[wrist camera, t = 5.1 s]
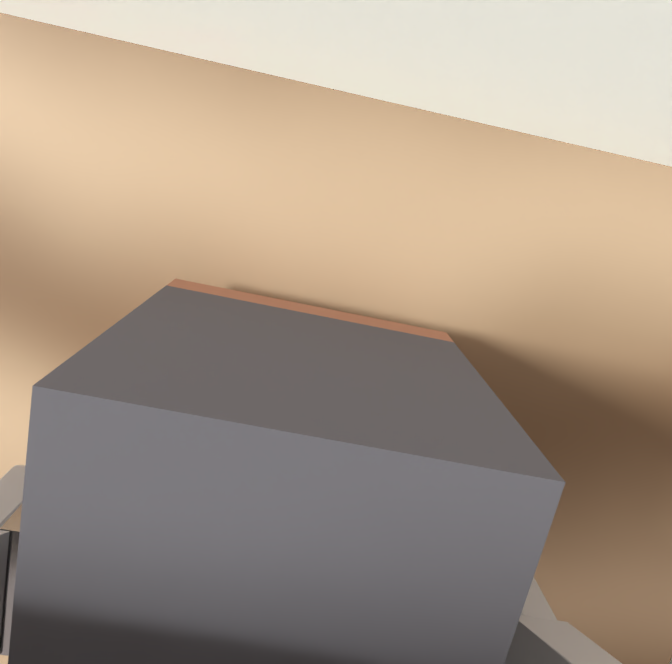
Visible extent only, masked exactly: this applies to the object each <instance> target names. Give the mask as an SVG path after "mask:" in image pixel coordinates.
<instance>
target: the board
mask: <svg viewBox="0 0 672 664" xmlns="http://www.w3.org/2000/svg"><path fill="white" fill-rule="evenodd" d="M175 278H176V279H181V280H186V281H191V282H196V283H201V284H206V285H211V286H216V287H221V288H226V289H231V290H236V291H241V292H246V293H251V294H256V295H261V296H266V297H271V298H276V299H281V300H286V301H291V302H296V303H301V304H306V305H311V306H316V307H321V308H326V309H331V310H336V311H341V312H346V313H351V314H356V315H361V316H366V317H371V318H376V319H381V320H386V321H391V322H397V323H402V324H407V325H412V326H417V327H422V328H427V329H432V330H437V331H442V332H446V333H447V334H448V335H449V337H450V338H451V339H452V340H453V342H454V343H455V344H456V345H457V347H458V348H459V349H460V350H461V352H462V353H463V354H464V355H465V357H466V358H467V359H468V360H469V362H470V363H471V364H472V365H473V367H474V368H475V369H476V370H477V372H478V373H479V374H480V375H481V377H482V378H483V379H484V380H485V382H486V383H487V384H488V386H489V387H490V388H491V389H492V391H493V392H494V393H495V394H496V396H497V397H498V398H499V399H500V401H501V402H502V403H503V404H504V406H505V407H506V408H507V409H508V411H509V412H510V413H511V414H512V416H513V417H514V418H515V419H516V421H517V422H518V423H519V424H520V426H521V427H522V428H523V429H524V431H525V432H526V433H527V434H528V436H529V437H530V438H531V440H532V441H533V442H534V443H535V445H536V446H537V447H538V448H539V450H540V451H541V452H542V453H543V455H544V456H545V457H546V458H547V460H548V461H549V462H550V463H551V465H552V466H553V467H554V468H555V470H556V471H557V472H558V473H559V475H560V476H561V477H562V478H563V480H564V481H565V482H566V483H565V486H564V488H563V491H562V494H561V497H560V500H559V503H558V506H557V509H556V512H555V515H554V518H553V521H552V524H551V527H550V530H549V533H548V536H547V539H546V542H545V545H544V548H543V551H542V554H541V556H540V559H539V562H538V565H537V568H536V571H535V574H534V578H535V580H536V582H537V584H538V585H539V587H540V589H541V591H542V593H543V595H544V596H545V598H546V600H547V602H548V604H549V606H550V608H551V609H552V611H553V613H554V615H555V617H556V619H557V620H559V621H565V622H568V623H569V624H571V625H572V626H573V627H575V628H576V629H577V630H579V631H580V632H581V633H583V634H584V635H585V636H587V637H588V638H589V639H591V640H592V641H593V642H594V643H596V644H597V645H598V646H600V647H601V648H602V649H604V650H605V651H606V652H608V653H609V654H610V655H612V656H613V657H614V658H615V659H617V660H618V661H619V662H621V663H622V664H669V662H670V660H671V657H672V167H670V166H665V165H661V164H657V163H652V162H648V161H643V160H639V159H635V158H630V157H626V156H622V155H617V154H613V153H609V152H604V151H600V150H596V149H591V148H587V147H582V146H578V145H574V144H569V143H565V142H561V141H556V140H552V139H548V138H543V137H539V136H535V135H530V134H526V133H521V132H517V131H513V130H508V129H504V128H500V127H495V126H491V125H487V124H482V123H478V122H474V121H469V120H465V119H461V118H456V117H452V116H447V115H443V114H439V113H434V112H430V111H426V110H421V109H417V108H413V107H408V106H404V105H400V104H395V103H391V102H386V101H382V100H378V99H373V98H369V97H365V96H360V95H356V94H352V93H347V92H343V91H339V90H334V89H330V88H326V87H321V86H317V85H312V84H308V83H304V82H299V81H295V80H291V79H286V78H282V77H278V76H273V75H269V74H265V73H260V72H256V71H251V70H247V69H243V68H238V67H234V66H230V65H225V64H221V63H217V62H212V61H208V60H204V59H199V58H195V57H190V56H186V55H182V54H177V53H173V52H169V51H164V50H160V49H156V48H151V47H147V46H143V45H138V44H134V43H130V42H125V41H121V40H116V39H112V38H108V37H103V36H99V35H95V34H90V33H86V32H82V31H77V30H73V29H69V28H64V27H60V26H55V25H51V24H47V23H42V22H38V21H34V20H29V19H25V18H21V17H16V16H12V15H8V14H3V13H0V479H1V478H2V477H3V476H4V475H5V474H6V473H7V472H8V471H9V470H10V469H11V468H12V467H14V466H15V465H26V454H27V442H28V431H29V420H30V409H31V397H32V386H33V385H34V384H35V383H37V382H38V381H39V380H41V379H42V378H43V377H45V376H46V375H47V374H49V373H50V372H51V371H53V370H54V369H55V368H57V367H58V366H59V365H61V364H62V363H63V362H65V361H66V360H67V359H69V358H70V357H71V356H73V355H74V354H75V353H77V352H78V351H79V350H81V349H82V348H83V347H85V346H86V345H87V344H89V343H90V342H91V341H93V340H94V339H95V338H97V337H98V336H99V335H101V334H102V333H103V332H105V331H106V330H107V329H109V328H110V327H111V326H113V325H114V324H115V323H117V322H118V321H119V320H121V319H122V318H123V317H125V316H126V315H127V314H129V313H130V312H131V311H133V310H134V309H135V308H137V307H138V306H139V305H141V304H142V303H143V302H145V301H146V300H147V299H149V298H150V297H151V296H153V295H154V294H155V293H157V292H158V291H159V290H161V289H162V288H163V287H165V286H166V285H167V284H169V283H170V282H171V281H173V280H174V279H175ZM0 664H8V656H6V655H0Z"/></svg>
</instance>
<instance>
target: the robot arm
mask: <svg viewBox="0 0 672 664" xmlns="http://www.w3.org/2000/svg"><path fill="white" fill-rule="evenodd" d="M24 476H25V465H15V466H14V467H12V468H11V469H10V470H9V471H8V472H7V473H6V474H5V475H4V476H3V477H2V478H1V479H0V655H6V656H9V645H10V634H11V623H12V611H13V600H14V589H15V578H16V566H17V555H18V544H19V533H20V521H21V510H22V499H23V488H24ZM504 664H622V663H621V662H619V661H618V660H617V659H615V658H614V657H613V656H612V655H610V654H609V653H608V652H606V651H605V650H604V649H602V648H601V647H600V646H598V645H597V644H596V643H594V642H593V641H592V640H591V639H589V638H588V637H587V636H585V635H584V634H583V633H581V632H580V631H579V630H577V629H576V628H575V627H573V626H572V625H571V624H569V623H568V622H565V621H559V620H557V619H556V617H555V615H554V613H553V611H552V609H551V608H550V606H549V604H548V602H547V600H546V598H545V596H544V595H543V593H542V591H541V589H540V587H539V585H538V584H537V582H536V580H535V578H534V577H533V580H532V583H531V586H530V589H529V592H528V595H527V598H526V601H525V604H524V607H523V610H522V613H521V616H520V619H519V622H518V624H517V627H516V630H515V633H514V636H513V639H512V642H511V645H510V648H509V651H508V654H507V657H506V660H505V663H504Z"/></svg>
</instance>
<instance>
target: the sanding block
mask: <svg viewBox="0 0 672 664" xmlns="http://www.w3.org/2000/svg"><path fill="white" fill-rule="evenodd" d="M565 483H566V482H565V481H564V480H563V478H562V477H561V476H560V475H559V473H558V472H557V471H556V470H555V468H554V467H553V466H552V465H551V463H550V462H549V461H548V460H547V458H546V457H545V456H544V455H543V453H542V452H541V451H540V450H539V448H538V447H537V446H536V445H535V443H534V442H533V441H532V440H531V438H530V437H529V436H528V434H527V433H526V432H525V431H524V429H523V428H522V427H521V426H520V424H519V423H518V422H517V421H516V419H515V418H514V417H513V416H512V414H511V413H510V412H509V411H508V409H507V408H506V407H505V406H504V404H503V403H502V402H501V401H500V399H499V398H498V397H497V396H496V394H495V393H494V392H493V391H492V389H491V388H490V387H489V386H488V384H487V383H486V382H485V380H484V379H483V378H482V377H481V375H480V374H479V373H478V372H477V370H476V369H475V368H474V367H473V365H472V364H471V363H470V362H469V360H468V359H467V358H466V357H465V355H464V354H463V353H462V352H461V350H460V349H459V348H458V347H457V345H456V344H455V343H454V342H453V340H452V339H451V338H450V337H449V335H448V334H447V333H446V332H442V331H437V330H432V329H427V328H422V327H417V326H412V325H407V324H402V323H397V322H391V321H386V320H381V319H376V318H371V317H366V316H361V315H356V314H351V313H346V312H341V311H336V310H331V309H326V308H321V307H316V306H311V305H306V304H301V303H296V302H291V301H286V300H281V299H276V298H271V297H266V296H261V295H256V294H251V293H246V292H241V291H236V290H231V289H226V288H221V287H216V286H211V285H206V284H201V283H196V282H191V281H186V280H181V279H176V278H175V279H174V280H173V281H171V282H170V283H169V284H167V285H166V286H165V287H163V288H162V289H161V290H159V291H158V292H157V293H155V294H154V295H153V296H151V297H150V298H149V299H147V300H146V301H145V302H143V303H142V304H141V305H139V306H138V307H137V308H135V309H134V310H133V311H131V312H130V313H129V314H127V315H126V316H125V317H123V318H122V319H121V320H119V321H118V322H117V323H115V324H114V325H113V326H111V327H110V328H109V329H107V330H106V331H105V332H103V333H102V334H101V335H99V336H98V337H97V338H95V339H94V340H93V341H91V342H90V343H89V344H87V345H86V346H85V347H83V348H82V349H81V350H79V351H78V352H77V353H75V354H74V355H73V356H71V357H70V358H69V359H67V360H66V361H65V362H63V363H62V364H61V365H59V366H58V367H57V368H55V369H54V370H53V371H51V372H50V373H49V374H47V375H46V376H45V377H43V378H42V379H41V380H39V381H38V382H37V383H35V384H34V385H33V386H32V397H31V409H30V420H29V431H28V442H27V454H26V465H25V476H24V488H23V499H22V510H21V521H20V533H19V544H18V555H17V566H16V578H15V589H14V600H13V611H12V623H11V634H10V645H9V656H8V664H504V663H505V660H506V657H507V654H508V651H509V648H510V645H511V642H512V639H513V636H514V633H515V630H516V627H517V624H518V622H519V619H520V616H521V613H522V610H523V607H524V604H525V601H526V598H527V595H528V592H529V589H530V586H531V583H532V580H533V577H534V574H535V571H536V568H537V565H538V562H539V559H540V556H541V554H542V551H543V548H544V545H545V542H546V539H547V536H548V533H549V530H550V527H551V524H552V521H553V518H554V515H555V512H556V509H557V506H558V503H559V500H560V497H561V494H562V491H563V488H564V486H565Z"/></svg>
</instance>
